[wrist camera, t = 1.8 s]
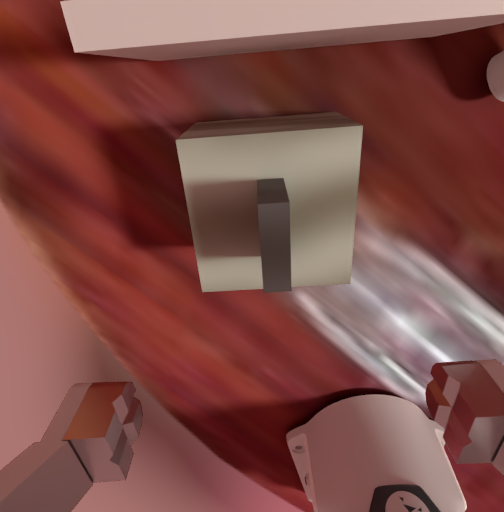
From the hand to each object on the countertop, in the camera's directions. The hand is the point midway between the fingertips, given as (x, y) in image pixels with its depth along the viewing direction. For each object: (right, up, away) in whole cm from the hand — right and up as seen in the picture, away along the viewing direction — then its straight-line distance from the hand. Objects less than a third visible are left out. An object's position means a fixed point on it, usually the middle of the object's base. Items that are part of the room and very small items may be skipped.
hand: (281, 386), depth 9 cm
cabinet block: (+1, +9, +17) cm, 19 cm away
